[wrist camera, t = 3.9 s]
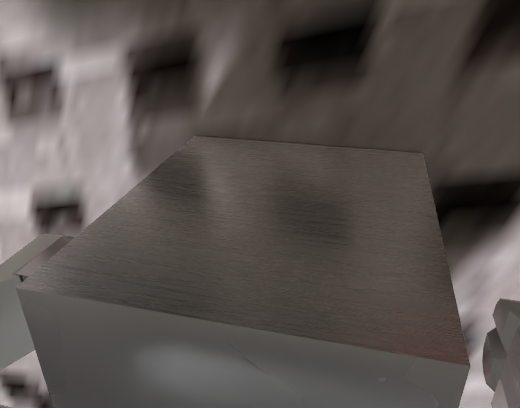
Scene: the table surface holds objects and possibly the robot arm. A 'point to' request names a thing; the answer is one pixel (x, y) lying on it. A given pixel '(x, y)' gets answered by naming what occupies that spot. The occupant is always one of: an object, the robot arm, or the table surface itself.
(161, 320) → the silver metal block
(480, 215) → the table surface
